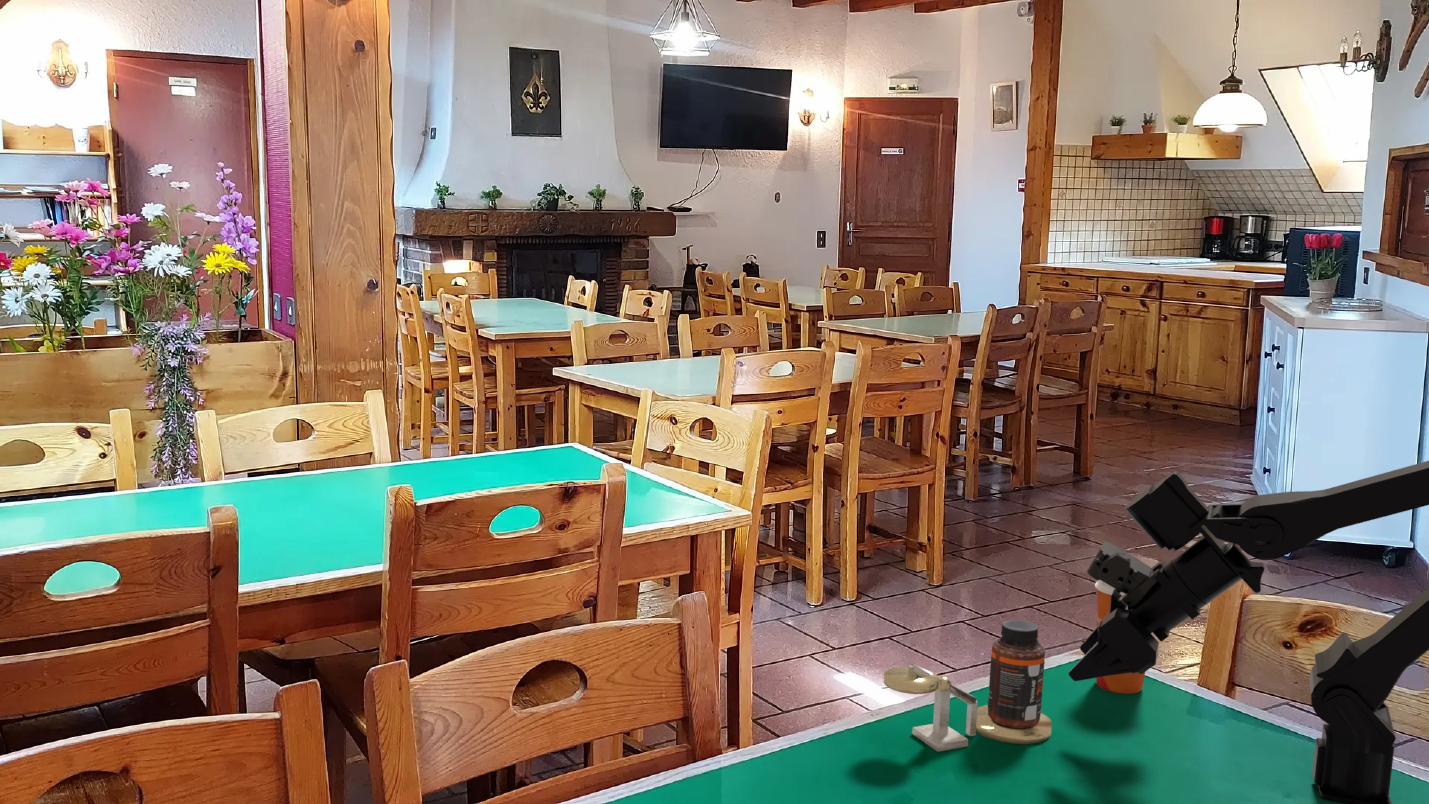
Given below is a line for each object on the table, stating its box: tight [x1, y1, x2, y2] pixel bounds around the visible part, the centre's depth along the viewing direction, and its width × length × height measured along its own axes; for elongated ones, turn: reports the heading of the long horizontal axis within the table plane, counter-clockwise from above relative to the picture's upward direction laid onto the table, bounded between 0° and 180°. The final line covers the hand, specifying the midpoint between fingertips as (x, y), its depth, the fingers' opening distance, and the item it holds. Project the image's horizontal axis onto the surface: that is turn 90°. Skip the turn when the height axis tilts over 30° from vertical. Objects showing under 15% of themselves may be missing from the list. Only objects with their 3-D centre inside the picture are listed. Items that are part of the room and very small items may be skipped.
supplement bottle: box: [987, 619, 1046, 728], centre depth 140 cm, size 6×6×11 cm
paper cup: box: [1094, 580, 1146, 695], centre depth 153 cm, size 8×8×14 cm
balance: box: [883, 663, 1053, 753], centre depth 137 cm, size 22×9×9 cm, turn 114°
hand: (1077, 663), depth 137 cm, fingers open, 9 cm apart
